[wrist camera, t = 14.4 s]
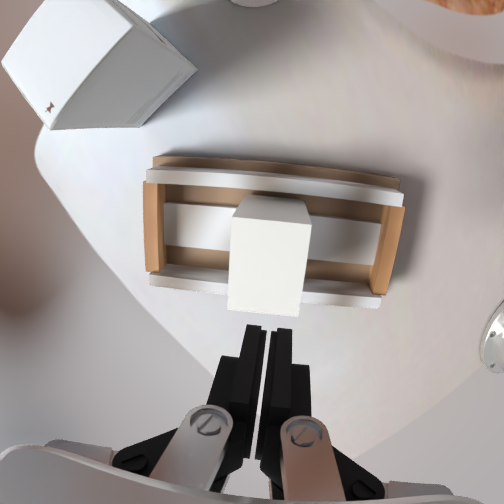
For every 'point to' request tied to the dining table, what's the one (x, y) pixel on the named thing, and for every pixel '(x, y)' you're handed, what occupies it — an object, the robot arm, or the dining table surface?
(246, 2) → the beer glass
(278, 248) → the block
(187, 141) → the dining table surface
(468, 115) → the dining table surface
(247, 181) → the rail board
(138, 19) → the supplement box
